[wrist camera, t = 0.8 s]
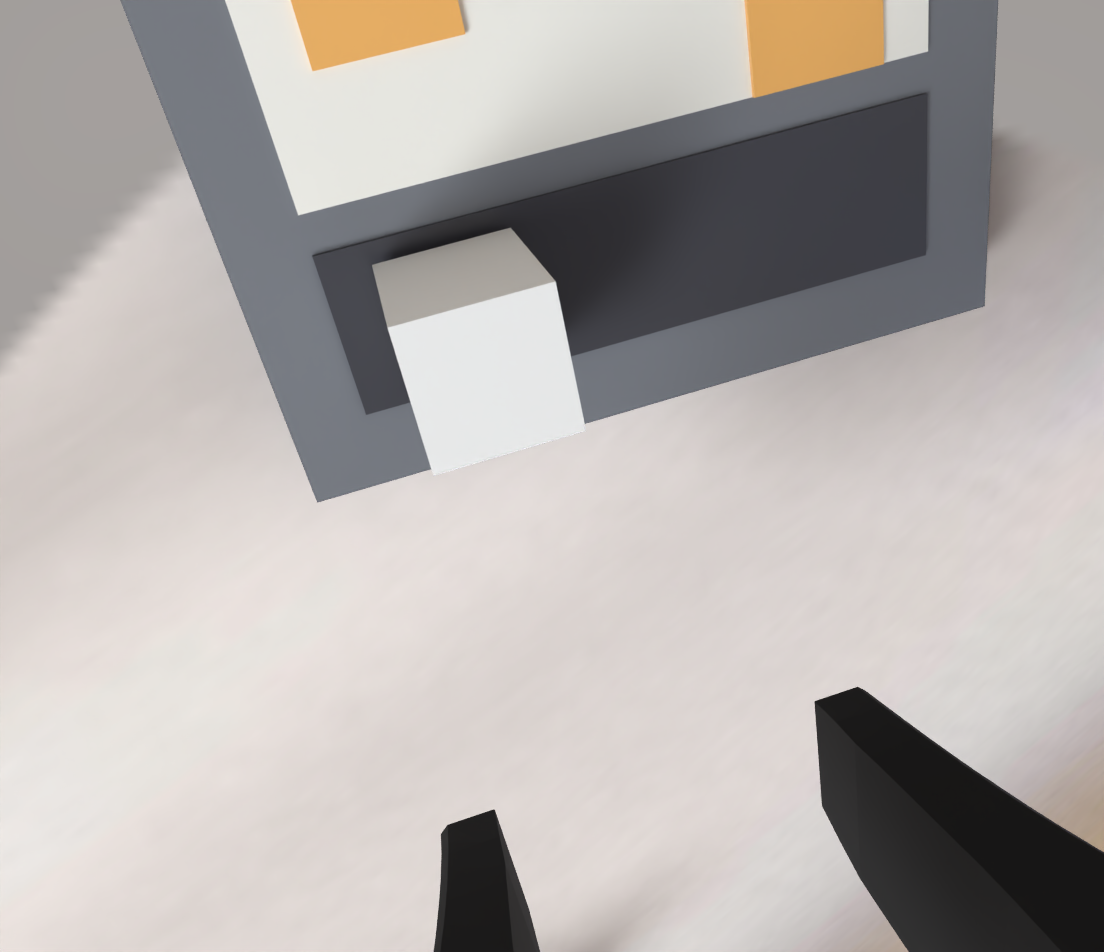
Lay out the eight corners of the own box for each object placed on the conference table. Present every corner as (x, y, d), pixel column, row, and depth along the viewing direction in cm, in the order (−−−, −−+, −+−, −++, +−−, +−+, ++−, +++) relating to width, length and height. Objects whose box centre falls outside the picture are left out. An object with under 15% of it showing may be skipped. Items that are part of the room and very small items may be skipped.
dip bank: (958, -641, 13) (1040, -717, 12) (941, 285, 20) (991, 309, 19) (-42, -467, 12) (-91, -530, 10) (316, 466, 19) (317, 507, 17)
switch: (510, 227, 16) (555, 280, 13) (539, 356, 17) (586, 430, 14) (371, 265, 15) (387, 328, 13) (411, 393, 17) (433, 476, 14)
